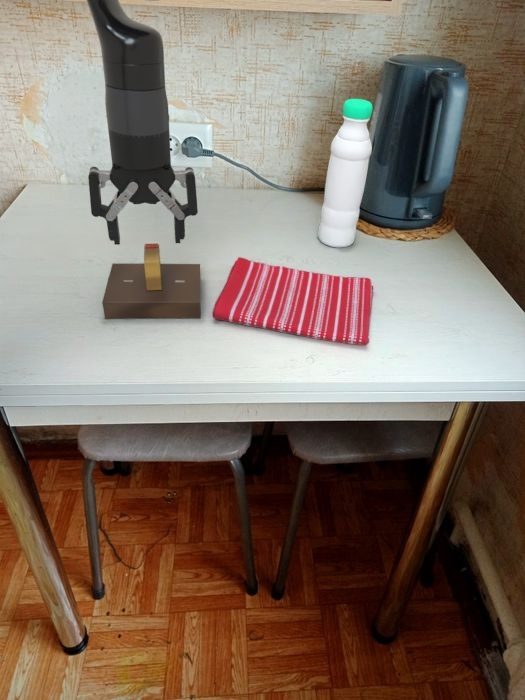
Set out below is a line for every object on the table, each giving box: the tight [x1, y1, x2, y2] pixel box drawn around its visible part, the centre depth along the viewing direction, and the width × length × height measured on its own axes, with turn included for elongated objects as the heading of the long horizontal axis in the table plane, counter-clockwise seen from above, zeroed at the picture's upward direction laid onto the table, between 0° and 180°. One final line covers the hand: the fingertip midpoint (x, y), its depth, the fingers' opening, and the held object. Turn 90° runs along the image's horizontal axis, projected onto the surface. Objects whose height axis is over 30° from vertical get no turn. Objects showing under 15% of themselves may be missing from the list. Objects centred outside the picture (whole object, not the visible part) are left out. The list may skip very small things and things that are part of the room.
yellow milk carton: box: [143, 242, 162, 290], centre depth 76 cm, size 5×2×5 cm, turn 10°
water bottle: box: [317, 98, 373, 249], centre depth 91 cm, size 7×7×25 cm
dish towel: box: [211, 256, 374, 346], centre depth 80 cm, size 17×24×3 cm
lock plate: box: [101, 262, 202, 320], centre depth 79 cm, size 14×11×3 cm
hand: (148, 241), depth 74 cm, fingers open, 8 cm apart
